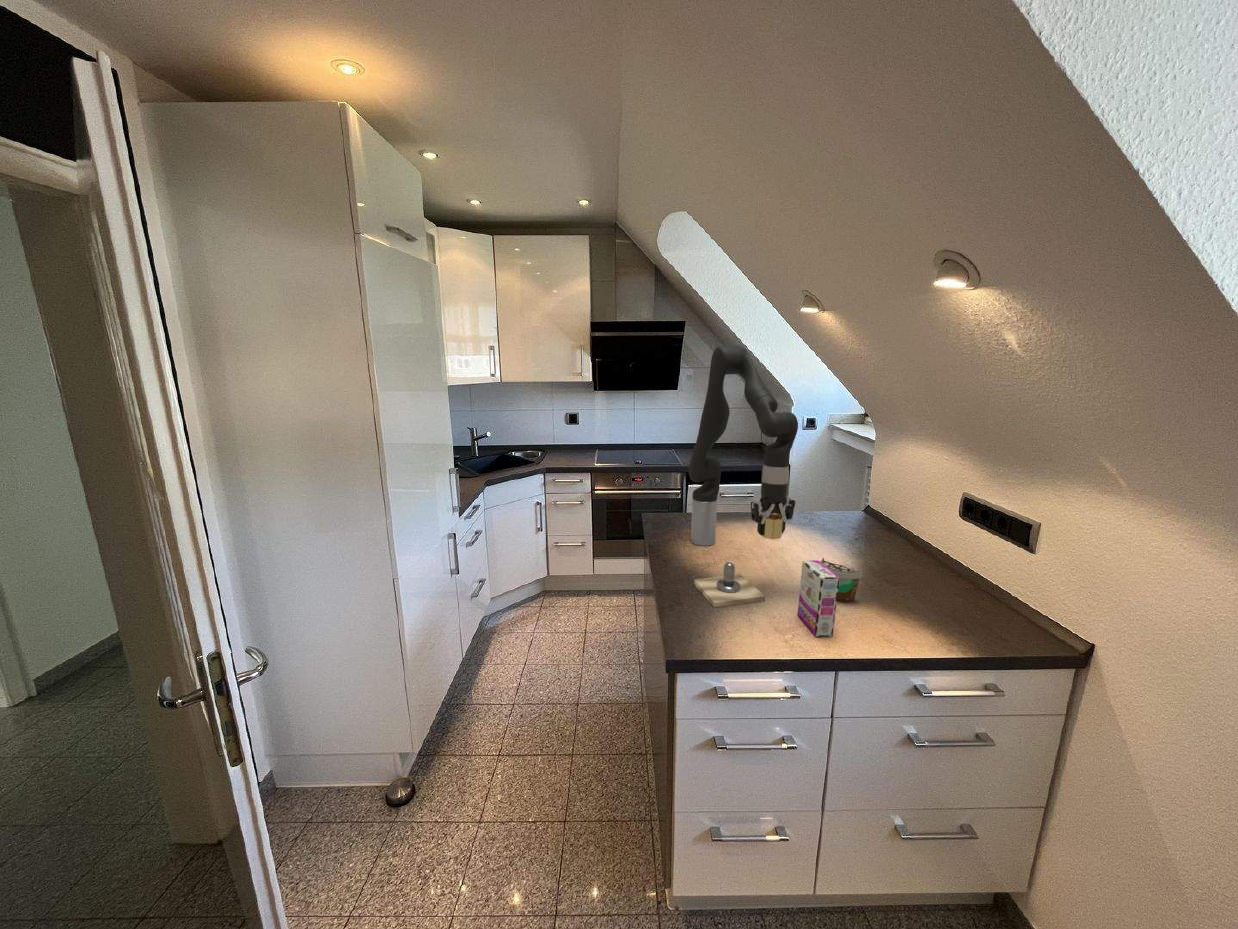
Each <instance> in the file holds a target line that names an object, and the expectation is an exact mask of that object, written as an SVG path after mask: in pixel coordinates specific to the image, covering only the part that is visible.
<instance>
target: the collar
mask: <svg viewBox="0 0 1238 929" xmlns="http://www.w3.org/2000/svg"><path fill="white" fill-rule="evenodd" d="M764 524H765V530H764V535H762V536H761V537H762V538H764V539H768V540H778V539H779V540H780V539H781V538H782V536H783V533H782V528H783V517H781V516H780V515H777V513H773V514H770V515H769V517H768V518H767V519H766V521H765V523H764Z"/></svg>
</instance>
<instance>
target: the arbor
mask: <svg viewBox="0 0 1238 929" xmlns="http://www.w3.org/2000/svg"><path fill="white" fill-rule="evenodd" d="M735 571H736V567H735V564H734V563H732V562H731V561H729V562H726V563H724V566H723V575H722V576H723V580H719V581H718V582H717V589H718V590H720V591H722V592H725V593H736V592H738V591H740V584H739V583H738V582H736V581H734V575H736V574H735Z"/></svg>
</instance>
